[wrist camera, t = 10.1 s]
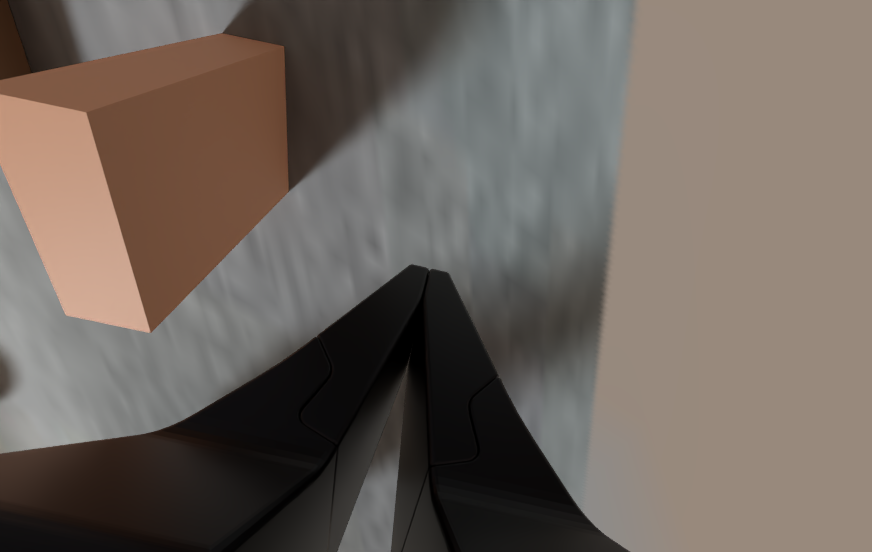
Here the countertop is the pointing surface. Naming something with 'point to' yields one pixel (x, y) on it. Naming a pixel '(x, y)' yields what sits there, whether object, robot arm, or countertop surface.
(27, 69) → the domino
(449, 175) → the countertop surface
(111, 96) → the loose domino
